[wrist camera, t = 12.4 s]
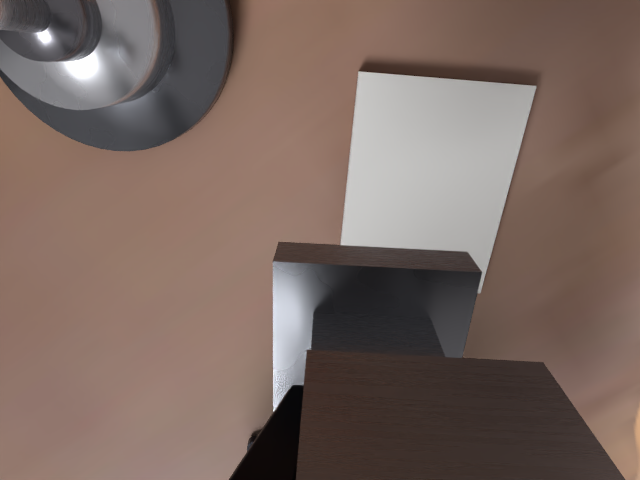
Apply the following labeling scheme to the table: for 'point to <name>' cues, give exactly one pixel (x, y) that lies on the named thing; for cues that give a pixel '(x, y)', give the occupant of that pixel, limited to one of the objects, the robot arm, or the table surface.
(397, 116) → the mat
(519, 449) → the grey stepped block
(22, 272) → the table surface
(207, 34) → the chuck base
